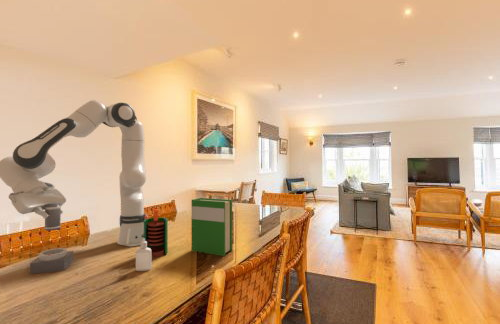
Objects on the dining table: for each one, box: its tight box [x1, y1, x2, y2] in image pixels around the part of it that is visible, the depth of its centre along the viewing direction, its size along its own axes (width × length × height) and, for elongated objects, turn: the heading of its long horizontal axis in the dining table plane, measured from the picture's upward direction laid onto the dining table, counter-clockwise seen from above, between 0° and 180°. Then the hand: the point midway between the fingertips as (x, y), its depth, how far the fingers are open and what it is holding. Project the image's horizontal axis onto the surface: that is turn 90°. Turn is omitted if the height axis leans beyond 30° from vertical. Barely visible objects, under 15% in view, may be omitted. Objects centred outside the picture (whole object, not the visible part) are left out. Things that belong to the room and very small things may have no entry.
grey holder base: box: [29, 247, 75, 275], centre depth 106 cm, size 11×11×6 cm
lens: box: [44, 203, 62, 232], centre depth 106 cm, size 5×5×10 cm
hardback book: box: [191, 197, 233, 257], centre depth 124 cm, size 18×7×24 cm, turn 66°
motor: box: [144, 208, 169, 258], centre depth 120 cm, size 10×9×20 cm
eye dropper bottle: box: [135, 238, 153, 272], centre depth 103 cm, size 4×6×12 cm
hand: (54, 215), depth 106 cm, fingers closed on lens, 5 cm apart
